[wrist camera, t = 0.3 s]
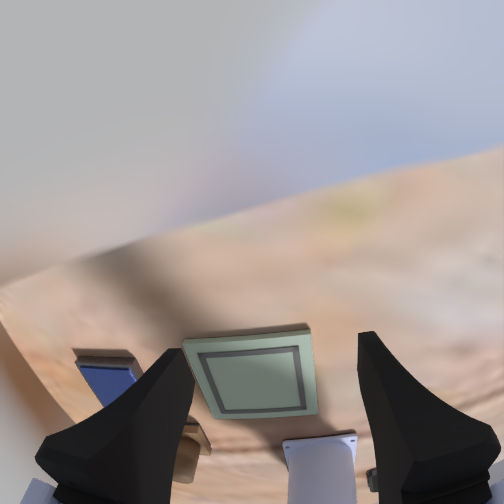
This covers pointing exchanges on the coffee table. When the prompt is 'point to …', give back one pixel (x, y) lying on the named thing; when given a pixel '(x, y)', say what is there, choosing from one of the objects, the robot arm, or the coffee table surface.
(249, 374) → the board
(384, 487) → the robot arm
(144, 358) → the coffee table surface
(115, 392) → the ink pad
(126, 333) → the coffee table surface
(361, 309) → the coffee table surface
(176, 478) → the stamp
